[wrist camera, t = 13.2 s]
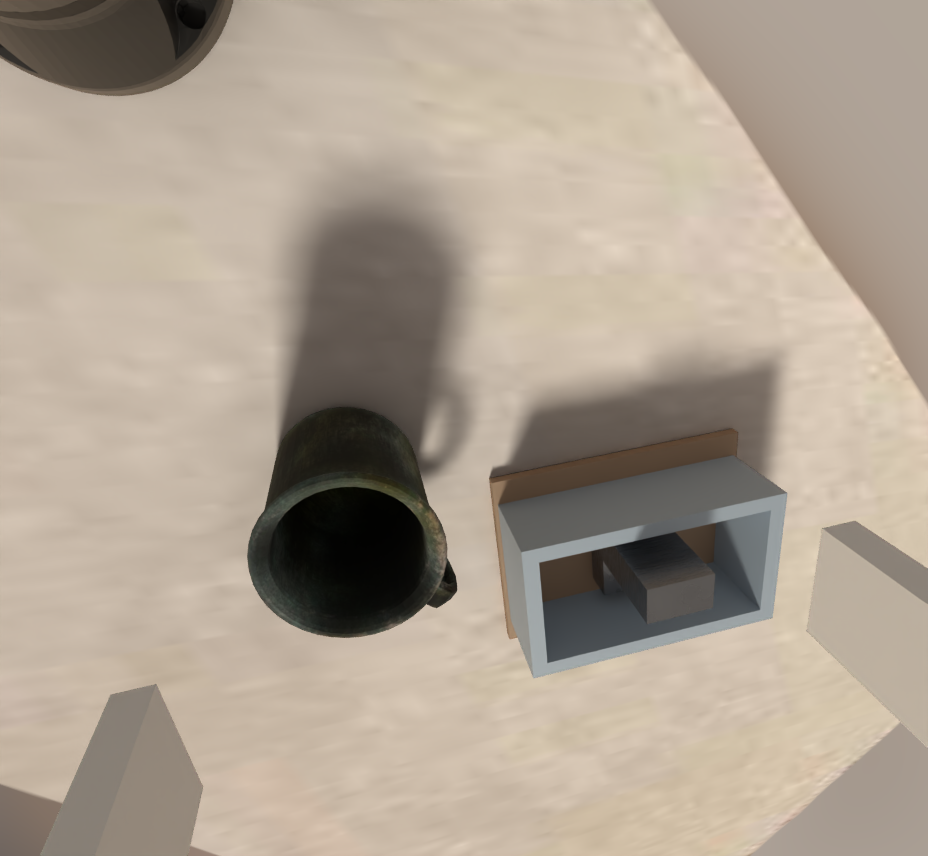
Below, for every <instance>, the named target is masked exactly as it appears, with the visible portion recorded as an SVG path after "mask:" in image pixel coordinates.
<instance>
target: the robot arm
mask: <svg viewBox="0 0 928 856" xmlns="http://www.w3.org/2000/svg"><path fill="white" fill-rule="evenodd" d="M232 4H233V0H0V58H2V59H3V60H5V61H7V62H8V63H10V64H12V65H13V66H15V67H17V68H19V69H21V70H23V71H25V72H27V73H29V74H31V75H34V76H36V77H38V78H41V79H44V80H46V81H49V82H52V83H55V84H58V85H60V86H63V87H67V88H70V89H73V90H77V91H81V92H85V93H91V94H97V95H107V96H124V95H135V94H141V93H145V92H150V91H153V90H156V89H159V88H162V87H164V86H167V85H169V84H171V83H173V82H175V81H176V80H178V79H180V78H181V77H183V76H184V75H186V74H187V73H189V72H190V71H191V70H192V69H194V68H195V67H196V66H197V65H198V64H199V63H200V62H201V61H202V60H203V59H204V58H205V57H206V55H207V54H208V53H209V52H210V50H211V49H212V48H213V46H214V45H215V43H216V42H217V40H218V38H219V36H220V35H221V33H222V31H223V29H224V27H225V24H226V22H227V19H228V17H229V14H230V11H231V7H232ZM807 632H808V633H809V634H810V635H811V636H812V637H813V638H814V639H815V640H816V641H817V642H818V643H819V644H820V645H821V646H822V647H823V648H824V649H825V650H826V651H827V652H828V653H830V654H831V655H832V656H833V657H834V658H835V659H836V660H837V661H838V662H839V663H840V664H841V665H842V666H843V667H844V668H845V669H846V670H847V671H848V672H849V673H850V674H851V675H852V676H853V677H854V678H855V679H856V680H858V681H859V682H860V683H861V684H862V685H863V686H864V687H865V688H866V689H867V690H868V691H869V692H870V693H871V694H872V695H873V696H874V697H875V698H876V699H877V700H878V701H879V702H880V703H881V704H882V705H883V706H884V707H885V708H887V709H888V710H889V711H890V712H891V713H892V714H893V715H894V716H895V717H896V718H897V719H898V720H899V721H900V722H901V723H902V724H903V725H904V726H905V727H906V728H907V729H908V730H909V731H910V732H911V733H913V734H914V735H915V736H916V737H917V738H918V739H919V740H920V741H921V742H922V743H923V744H924V745H925V746H926V747H927V748H928V568H926V567H925V566H923V565H921V564H920V563H918V562H917V561H915V560H914V559H912V558H911V557H909V556H908V555H906V554H905V553H903V552H902V551H900V550H899V549H897V548H896V547H894V546H893V545H891V544H890V543H888V542H887V541H885V540H884V539H882V538H881V537H879V536H878V535H876V534H875V533H873V532H872V531H870V530H868V529H867V528H865V527H864V526H862V525H861V524H859V523H858V522H856V521H852V522H848V523H843V524H839V525H835V526H831V527H826V528H822V532H821V539H820V546H819V552H818V559H817V565H816V572H815V579H814V585H813V592H812V598H811V605H810V611H809V618H808V625H807ZM202 790H203V785H202V783H201V781H200V779H199V777H198V774H197V772H196V770H195V768H194V766H193V763H192V761H191V759H190V757H189V755H188V753H187V750H186V748H185V746H184V744H183V742H182V739H181V737H180V735H179V733H178V731H177V728H176V726H175V724H174V722H173V720H172V717H171V715H170V713H169V711H168V709H167V706H166V704H165V702H164V700H163V698H162V695H161V693H160V691H159V689H158V687H157V684H155V685H150V686H146V687H142V688H137V689H133V690H129V691H125V692H120V693H116V694H112V695H110V697H109V700H108V702H107V704H106V707H105V709H104V711H103V713H102V716H101V718H100V720H99V722H98V725H97V727H96V729H95V732H94V734H93V736H92V738H91V741H90V743H89V745H88V747H87V750H86V752H85V754H84V757H83V759H82V761H81V763H80V766H79V768H78V770H77V773H76V775H75V777H74V779H73V782H72V784H71V786H70V788H69V791H68V793H67V795H66V798H65V800H64V802H63V804H62V807H61V809H60V811H59V813H58V816H57V818H56V820H55V823H54V825H53V827H52V829H51V832H50V834H49V836H48V838H47V841H46V843H45V846H44V848H43V850H42V852H41V854H40V856H188V853H189V848H190V844H191V839H192V835H193V830H194V826H195V821H196V817H197V812H198V808H199V803H200V799H201V794H202Z"/></svg>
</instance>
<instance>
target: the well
mask: <svg viewBox="0 0 928 856" xmlns="http://www.w3.org/2000/svg"><path fill="white" fill-rule="evenodd" d="M737 441H738V432H737V431H735V430H734V429H728V430H723V431H719V432H714V433H709V434H704V435H699V436H694V437H689V438H684V439H679V440H675V441H670V442H665V443H660V444H655V445H650V446H645V447H640V448H636V449H631V450H626V451H621V452H616V453H611V454H606V455H601V456H596V457H592V458H587V459H582V460H577V461H572V462H567V463H562V464H557V465H552V466H548V467H543V468H538V469H533V470H528V471H523V472H518V473H513V474H509V475H504V476H499V477H494V478H489V481H490V489H491V498H492V506H493V515H494V523H495V532H496V540H497V549H498V557H499V566H500V574H501V582H502V591H503V599H504V608H505V616H506V625H507V633H508V636H509V639H513V638H517V637H518V640H519V642H520V645H521V647H522V650H523V652H524V655H525V658H526V660H527V663H528V665H529V668H530V670H531V673H532V675H533V678H537V677H541V676H545V675H549V674H553V673H557V672H561V671H565V670H569V669H573V668H577V667H581V666H585V665H589V664H593V663H596V662H600V661H604V660H608V659H612V658H616V657H620V656H624V655H628V654H632V653H636V652H640V651H644V650H648V649H652V648H656V647H660V646H664V645H668V644H672V643H676V642H680V641H684V640H688V639H692V638H695V637H699V636H703V635H707V634H711V633H715V632H719V631H723V630H727V629H731V628H735V627H739V626H743V625H747V624H751V623H755V622H759V621H763V620H767V619H771V618H773V609H774V601H775V593H776V584H777V576H778V567H779V559H780V551H781V542H782V534H783V526H784V517H785V509H786V501H787V492H785V491H784V490H782V489H781V488H780V487H778V486H777V485H775V484H774V483H772V482H771V481H770V480H768V479H767V478H765V477H764V476H762V475H761V474H759V473H758V472H757V471H755V470H754V469H752V468H751V467H749V466H748V465H747V464H745V463H744V462H742V461H741V460H739V459H738V458H737V457H736V454H737ZM672 532H676V533H677V534H678V535H679V537H680V538H681V539H682V540H683V541H684V542H685V543H686V544H687V545H688V546H689V547H690V548H691V549H692V550H693V551H694V552H695V553H696V554H697V555H698V556H699V557H700V558H701V560H702V561H703V562H704V563H705V564H706V565H707V566H708V567H709V568H710V569H711V570H712V571H713V572H714V573H715V585H714V600H713V608H711V609H707V610H703V611H699V612H695V613H691V614H687V615H683V616H679V617H674V618H670V619H666V620H662V621H658V622H654V623H650V624H646V622H645V621H644V619H643V618H642V616H641V615H640V614H639V612H638V611H637V609H636V608H635V606H634V605H633V603H632V602H631V601H630V599H629V598H628V596H627V595H626V593H625V592H624V591H621V592H616V593H612V594H608V595H604V594H603V593H602V591H601V590H600V588H599V586H598V585H597V583H596V582H595V580H594V579H593V575H592V551H593V550H597V549H602V548H606V547H611V546H615V545H619V544H624V543H628V542H633V541H637V540H642V539H646V538H650V537H655V536H659V535H664V534H668V533H672Z"/></svg>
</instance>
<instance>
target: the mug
mask: <svg viewBox="0 0 928 856" xmlns="http://www.w3.org/2000/svg"><path fill="white" fill-rule="evenodd" d="M247 558H248V567H249V572H250V576H251V579H252V582H253V585H254V587H255V589H256V591H257V592H258V594H259V596H260V598H261V599H262V600H263V601H264V603H265V604H266V605H267V606H268V607H269V608H270V609H271V610H272V611H273V612H274V613H275V614H276V615H277V616H279V617H280V618H282V619H283V620H285V621H286V622H288V623H289V624H291V625H293V626H295V627H297V628H300V629H302V630H304V631H307V632H311V633H314V634H317V635H323V636H328V637H340V638H350V637H362V636H367V635H372V634H376V633H380V632H383V631H386V630H389V629H391V628H393V627H395V626H397V625H399V624H402V623H403V622H405V621H406V620H408V619H409V618H411V617H412V616H414V615H415V614H416V613H417V612H418V611H420V610H421V609H422V608H423V607H424V606H425V605H426V604H427V605H429V606H432V607H435V608H438V607H440V606H441V605H443V604H444V603H446V602H447V601H449V600H450V599H451V598H452V597H453V596H454V594H455V593H456V592H457V582H456V576H455V574H454V571H453V569H452V567H451V564H450V562H449V561H448V559H447V543H446V536H445V533H444V530H443V527H442V524H441V522H440V521H439V519H438V517H437V515H436V513H435V512H434V511H433V510H432V508H431V507H430V506H429V503H428V500H427V496H426V493H425V489H424V486H423V482H422V479H421V475H420V471H419V468H418V464H417V461H416V457H415V454H414V451H413V448H412V446H411V444H410V443H409V441H408V439H407V438H406V436H405V435H404V434H403V433H402V431H401V430H400V429H399V428H398V427H397V426H395V425H394V424H393V423H392V422H390V421H389V420H387V419H386V418H384V417H382V416H380V415H378V414H376V413H374V412H370V411H367V410H364V409H358V408H350V407H339V408H332V409H327V410H323V411H320V412H317V413H315V414H312V415H310V416H308V417H306V418H305V419H303V420H302V421H300V422H299V423H298V424H296V425H295V426H294V427H293V428H292V429H291V430H290V431H289V433H288V434H287V435H286V437H285V438H284V439H283V441H282V443H281V445H280V447H279V450H278V453H277V457H276V461H275V465H274V470H273V474H272V479H271V483H270V488H269V492H268V497H267V502H266V506H265V510H264V512H263V513H262V514H261V516H260V517H259V518H258V520H257V522H256V524H255V526H254V528H253V530H252V533H251V537H250V540H249V544H248V555H247Z"/></svg>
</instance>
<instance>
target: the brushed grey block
mask: <svg viewBox="0 0 928 856" xmlns="http://www.w3.org/2000/svg"><path fill="white" fill-rule="evenodd" d="M592 575H593V579H594V580H595V582H596V583H597V585H598V586H599V588H600V590H601V591H602V593H603V594H604V595H608V594H612V593H616V592H621V591H624V592H625V593H626V595H627V596H628V598H629V599H630V601H631V602H632V603H633V605H634V606H635V608H636V609H637V611H638V612H639V614H640V615H641V616H642V618H643V619H644V621H645V622H646V624H650V623H654V622H658V621H662V620H666V619H670V618H674V617H679V616H683V615H687V614H691V613H695V612H699V611H703V610H707V609H711V608H713V600H714V585H715V573H714V572H713V571H712V570H711V569H710V568H709V567H708V566H707V565H706V564H705V563H704V562H703V561H702V560H701V558H700V557H699V556H698V555H697V554H696V553H695V552H694V551H693V550H692V549H691V548H690V547H689V546H688V545H687V544H686V543H685V542H684V541H683V540H682V539H681V538H680V537H679V535H678V534H677V533H676V532H672V533H668V534H664V535H659V536H655V537H650V538H646V539H642V540H637V541H633V542H628V543H624V544H619V545H615V546H611V547H606V548H602V549H597V550H593V551H592Z"/></svg>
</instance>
